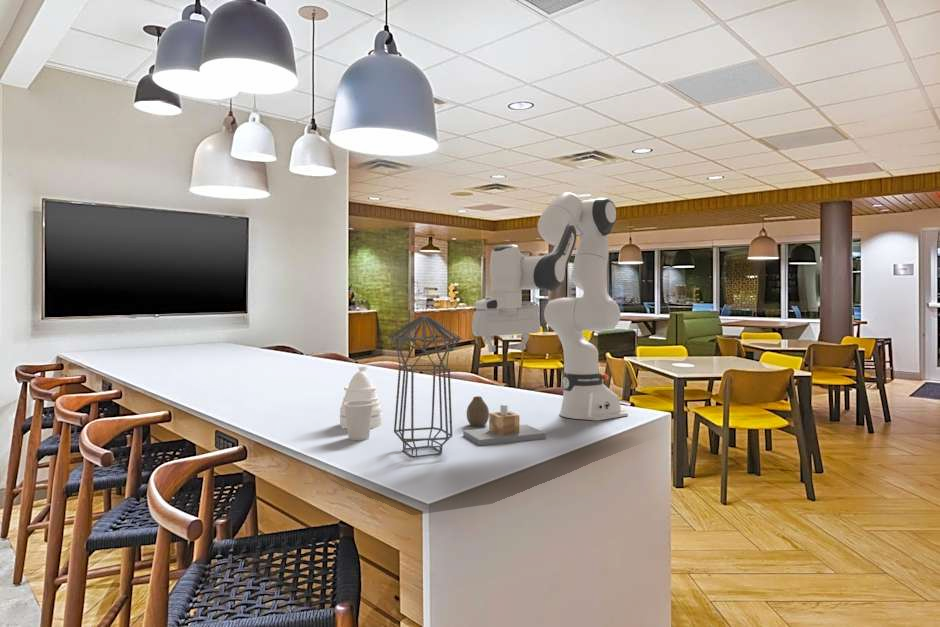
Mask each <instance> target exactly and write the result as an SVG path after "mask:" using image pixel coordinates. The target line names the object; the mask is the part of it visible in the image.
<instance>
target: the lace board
mask: <svg viewBox="0 0 940 627" xmlns="http://www.w3.org/2000/svg"><path fill="white" fill-rule="evenodd" d="M508 408H509V406H508V404H500V410H499V412H500V416H503V415H508V411H509V410H508ZM546 433H547V432H545V431H543V430H541V429H540V430H539V429H538V428H535V427H532V426H530V425H528V424H526V423H525V424H519V433H515V434H505V435H497V434H495V433H493V432H491V431H490V430H489V427H487V428H477V429H464V430H463V433H462V434H463V436H464V437H465V438H467V439H468V440H470V441H471V442H473V443H475V444H476V445H478V446H486V445H498V444H506V443H515V442H525V441H534V440H544V439H546V438H547V434H546Z"/></svg>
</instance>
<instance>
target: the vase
mask: <svg viewBox="0 0 940 627" xmlns="http://www.w3.org/2000/svg"><path fill="white" fill-rule="evenodd" d="M472 398H473V399H471V401H470V403H469V404H468V405H467V409H466V419H467V421H468V423H469V424H470V426H472V427H478V428H479V427H484V426H485V425H486V424H487V423H488V422H489V413H490V411H489V407H488V405H487V403H486V402H485V400H483V399H484V398H483V397H482V396H479V395H478V396H473V397H472Z"/></svg>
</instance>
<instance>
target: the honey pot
mask: <svg viewBox="0 0 940 627" xmlns="http://www.w3.org/2000/svg"><path fill="white" fill-rule="evenodd" d="M367 369H368V366H366V365H359V366H358V371H357V372H356V373H355V374H354V375H353V376H352V378H351V380H350V382H349V383H348V385H346V386H344V387H343V390H344V391H345V393H344V396H343V398H342V399H343V400H342V402H341V406H340V409H339V426H341V427H340V428H342V427H344V428H343V429H345V428H347V422H346V414H345V407H344V405H343V404H344V403H345V402H348V401H355V400H367V401H372V402H373V403H374V404H373V407H372V417H371V426H370V430H371V429H375V428H379V427H381V426H382V425H383V413H382V412H383V411H382V410H383V409H382V406H381V404H380V403H381V401H380V400H379V396H378V394H377V391H376V390H377V388H378V387H377V386H376V385H374V384H373V382H372V380H371V379H370V377H369V375H368V374H367V373H366V371H367Z"/></svg>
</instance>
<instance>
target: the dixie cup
mask: <svg viewBox="0 0 940 627" xmlns="http://www.w3.org/2000/svg"><path fill="white" fill-rule="evenodd" d="M373 404H374V403H373V402H372V401H367V400H355V401H348V402H345V403H344V404H343V405H344V407H345V414H346V422H347V429H346V430H347V436H348V440H350V439H351V440H350V441H355V440H358V441H365V440H369V439H370V434H371V433H370V432H371V429H370V426H371V417H372V407H373Z"/></svg>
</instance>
